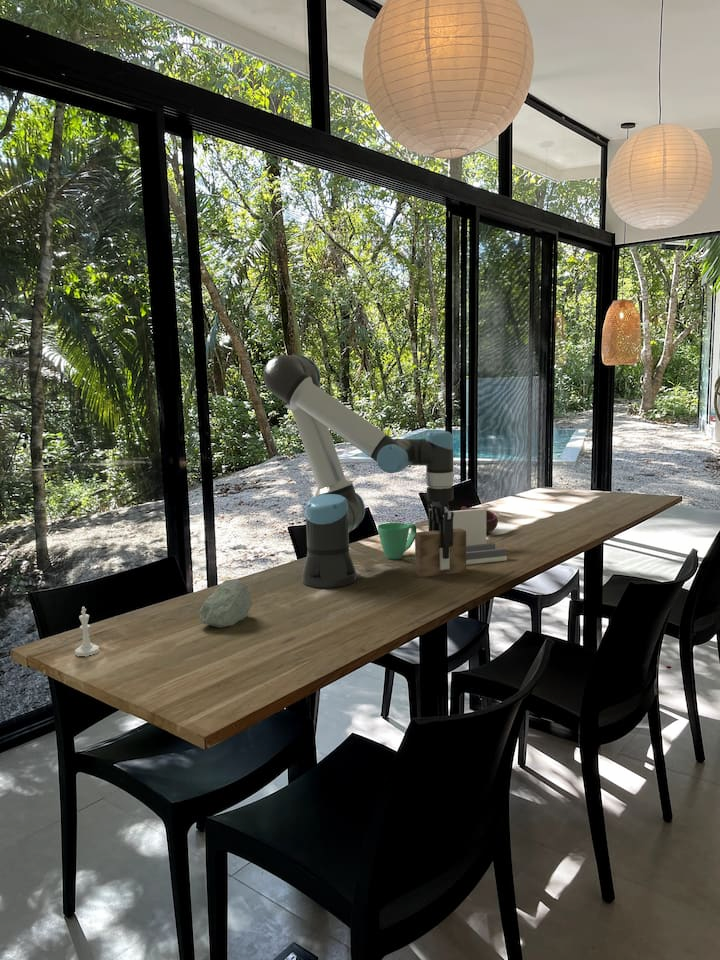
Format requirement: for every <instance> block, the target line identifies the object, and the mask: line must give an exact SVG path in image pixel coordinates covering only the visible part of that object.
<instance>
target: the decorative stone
mask: <svg viewBox="0 0 720 960" xmlns="http://www.w3.org/2000/svg"><path fill="white" fill-rule="evenodd" d="M252 604H253V602H252V599H251V592H250V591H249V588H248V585H247V584H245V582H242V581H241V580H239V579H237V578H232V579H225V580H224V581H222V582H221V584H220V585H219V586H218V587H216V588H215V590H214V591H213V593H212V594H211V595H209V596H208V598H207V599H206V600H205V602H204V603H203V605H202V606H201V608H200V609H199V612H198V614H199V620H200V622H201V623H202V624H204V625H209V626H210V627H214V628H218V629H219V628H222V629H223V628H226V627H232V626H234V625H235V624H236V623H238V622H241V621H243V620H244V619H245V618H247V617H248V615H249V611H250V609H251V607H252Z"/></svg>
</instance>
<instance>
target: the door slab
mask: <svg viewBox="0 0 720 960" xmlns="http://www.w3.org/2000/svg"><path fill="white" fill-rule="evenodd" d="M439 546H441V541H440V531H439V530H437V531H429V530H428V531H418V532H417V531H416V532H415V539H414V550H415V552H414V554H415V555H414V559H415V561H414V564H415V574H416V575H417V576H419V577H420V578H423V577H424V578H425V577H433V576H441V575H450V574H451V575H452V574H460V573H466V572H467V565H466V531H465V530H463V529H461V528H458V529H453V546H450V547H449V552H450V569H445V570H440V548H439Z"/></svg>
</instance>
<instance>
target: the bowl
mask: <svg viewBox="0 0 720 960" xmlns="http://www.w3.org/2000/svg"><path fill="white" fill-rule="evenodd" d="M471 509H479V508H477V507H474V508H468V507H467V506H461V508H460V510H471ZM498 520H499V519H498V517H497V514H495V512H493V511H490V510H488V509H486V534H487V533H491V532H492V531H494V530H495V529H496V528H497V527H498V524H499V521H498Z"/></svg>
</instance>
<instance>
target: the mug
mask: <svg viewBox="0 0 720 960" xmlns="http://www.w3.org/2000/svg"><path fill="white" fill-rule="evenodd" d="M377 531H378V537H379V540H380V545H381V548H382V551H383V553H384V555H385V557H386V559H388V560H399V559H402V558H403V555H404V553H405V552H407V551H408V549H410V548H411V547H412V545H413V543H414V542H415V532H417V526H416V525H415V523H402V522H385V523H381V524H378V525H377ZM409 533H410V534H409Z"/></svg>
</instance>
